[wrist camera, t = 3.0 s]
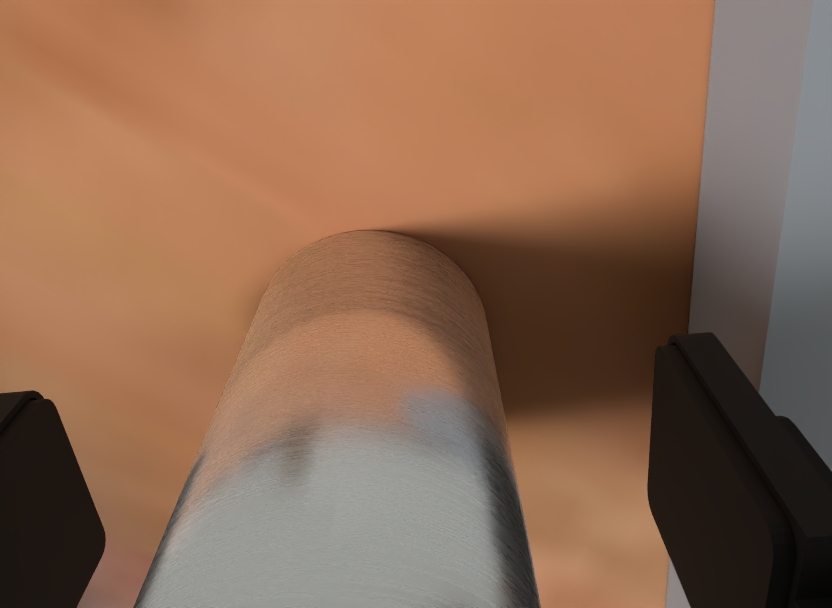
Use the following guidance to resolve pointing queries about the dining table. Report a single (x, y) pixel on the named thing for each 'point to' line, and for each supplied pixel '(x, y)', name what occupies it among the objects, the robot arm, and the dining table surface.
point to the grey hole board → (769, 210)
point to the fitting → (354, 448)
